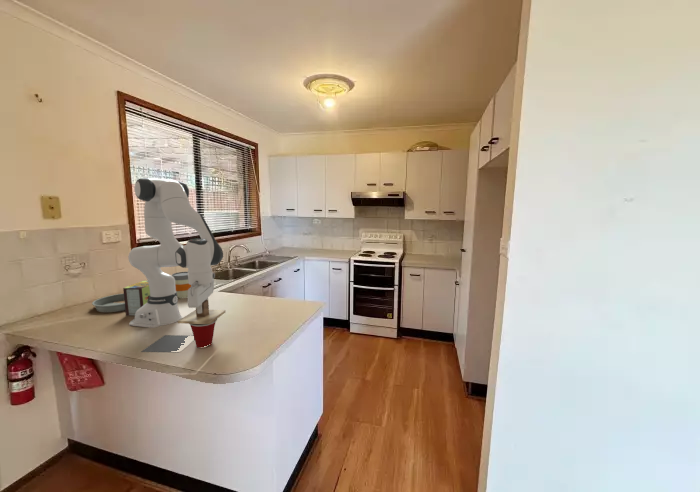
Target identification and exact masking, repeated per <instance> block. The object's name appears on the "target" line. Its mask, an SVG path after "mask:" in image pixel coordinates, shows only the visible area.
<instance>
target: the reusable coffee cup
mask: <svg viewBox="0 0 700 492" xmlns="http://www.w3.org/2000/svg"><path fill="white" fill-rule="evenodd" d="M171 275H172V276H173V277H174V279H175V286H176V292H177V299H188V289H189V288H190V287H191V285H190V284H189V283H188V271H180V272H174V273H172V274H171Z"/></svg>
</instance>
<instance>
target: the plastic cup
mask: <svg viewBox="0 0 700 492" xmlns="http://www.w3.org/2000/svg"><path fill="white" fill-rule="evenodd" d="M217 321H218V318H217V319H216V320H215V321H214V322H212V323H211V324H189V325H190V328H191V331H192V336H194V343H195V346H196V347H197V348H198V347H204V346H207V345H209V344H211V343H212V344H213V338H214V333H215V326H216V322H217ZM212 344H211V345H212Z"/></svg>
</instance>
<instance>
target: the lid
mask: <svg viewBox="0 0 700 492" xmlns="http://www.w3.org/2000/svg"><path fill="white" fill-rule="evenodd" d="M202 308H203V312H202V313H201V314H198V313H197V309H196V308H195V310H193V311H192V312H190V313H188V314H186V315H184V316H183V317H182V318H181V319H180V320H178V321H177V324H188V325H190V324H211V323H212V322H214V321H215V320H216V319H217V320H218V318H220V317H221V316H223V315H224V314H226V310H225V309H210V305H209V299H208V300H205V301H204V302H203V303H202Z"/></svg>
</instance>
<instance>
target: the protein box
mask: <svg viewBox="0 0 700 492" xmlns="http://www.w3.org/2000/svg"><path fill="white" fill-rule="evenodd" d="M122 291H123V293H124V303H125V310H124V311H125V316H129V317H130V316H131V317H133V316H134V317H135V313H136V311H137V310H138V309H139V308H141V307H142V306H143V305H144V304H146V303H147V301H148V299H146V297H148V296H149V295H150V289H149V283H148V280H142V281H139V282H136V283H134V284H131V285H127V286H125V287H123V288H122ZM145 299H146V300H145Z"/></svg>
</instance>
